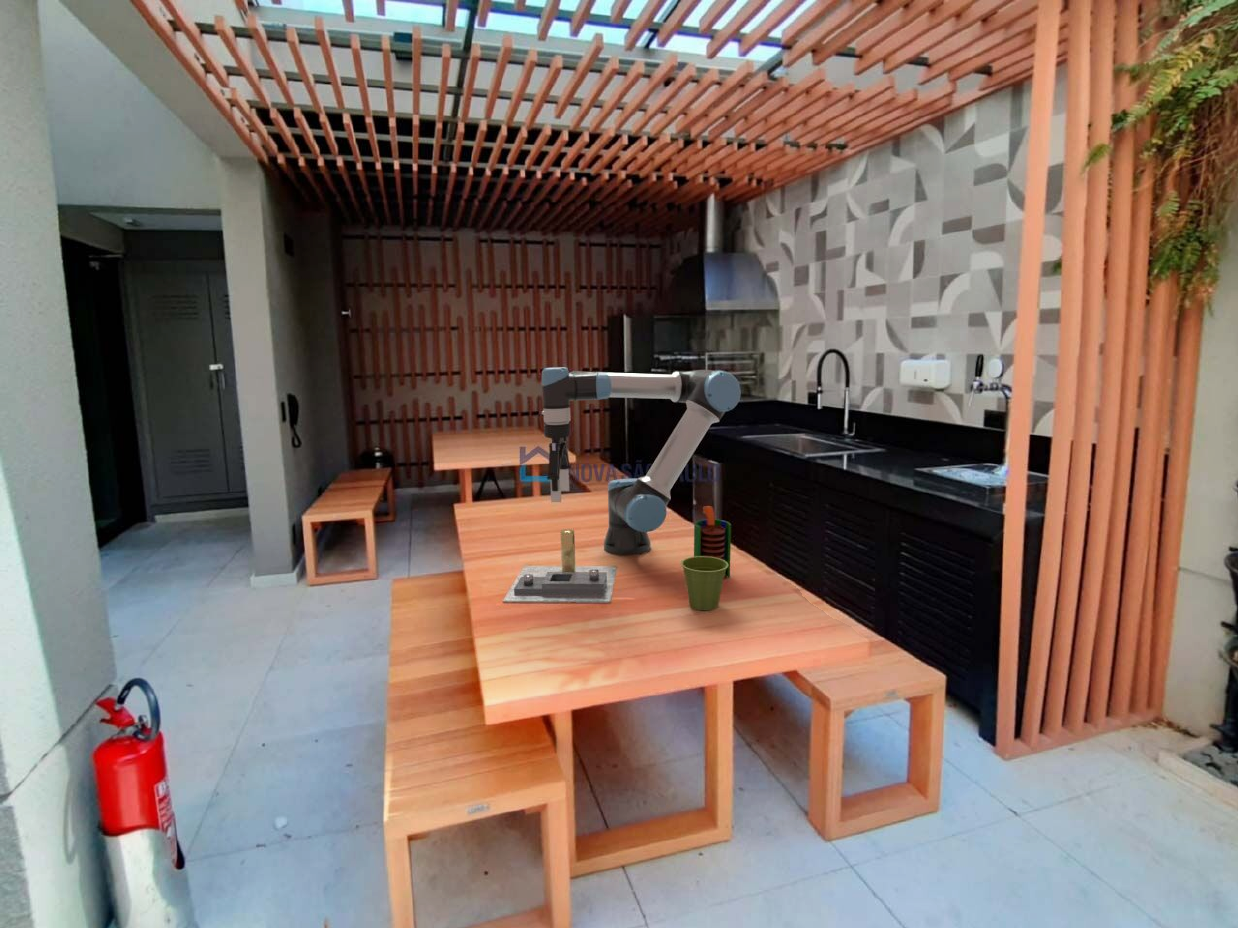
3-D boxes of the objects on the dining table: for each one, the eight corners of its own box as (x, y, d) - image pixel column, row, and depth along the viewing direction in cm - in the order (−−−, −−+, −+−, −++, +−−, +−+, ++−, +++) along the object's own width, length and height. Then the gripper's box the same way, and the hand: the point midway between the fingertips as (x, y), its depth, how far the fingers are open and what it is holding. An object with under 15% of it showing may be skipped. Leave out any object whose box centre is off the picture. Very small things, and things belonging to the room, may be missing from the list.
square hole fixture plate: (617, 567, 196) (617, 550, 195) (610, 603, 170) (609, 582, 169) (524, 567, 198) (523, 549, 197) (502, 602, 171) (501, 582, 170)
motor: (704, 584, 181) (705, 514, 178) (686, 575, 189) (686, 507, 185) (734, 578, 186) (735, 509, 182) (715, 568, 194) (716, 502, 190)
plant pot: (716, 618, 159) (716, 574, 157) (672, 609, 165) (672, 566, 163) (735, 602, 169) (735, 560, 167) (693, 593, 175) (693, 553, 173)
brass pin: (576, 568, 195) (575, 529, 193) (574, 572, 191) (573, 533, 189) (562, 568, 195) (561, 529, 193) (560, 572, 191) (559, 533, 189)
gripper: (552, 417, 198) (555, 486, 202) (534, 429, 174) (538, 507, 178) (577, 417, 198) (579, 486, 201) (562, 428, 173) (566, 507, 177)
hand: (560, 496), depth 190 cm, fingers open, 13 cm apart
